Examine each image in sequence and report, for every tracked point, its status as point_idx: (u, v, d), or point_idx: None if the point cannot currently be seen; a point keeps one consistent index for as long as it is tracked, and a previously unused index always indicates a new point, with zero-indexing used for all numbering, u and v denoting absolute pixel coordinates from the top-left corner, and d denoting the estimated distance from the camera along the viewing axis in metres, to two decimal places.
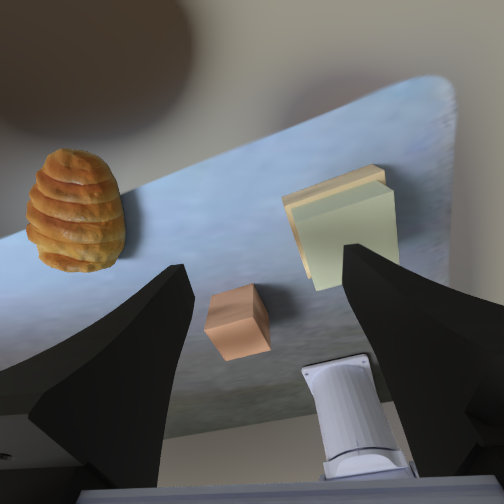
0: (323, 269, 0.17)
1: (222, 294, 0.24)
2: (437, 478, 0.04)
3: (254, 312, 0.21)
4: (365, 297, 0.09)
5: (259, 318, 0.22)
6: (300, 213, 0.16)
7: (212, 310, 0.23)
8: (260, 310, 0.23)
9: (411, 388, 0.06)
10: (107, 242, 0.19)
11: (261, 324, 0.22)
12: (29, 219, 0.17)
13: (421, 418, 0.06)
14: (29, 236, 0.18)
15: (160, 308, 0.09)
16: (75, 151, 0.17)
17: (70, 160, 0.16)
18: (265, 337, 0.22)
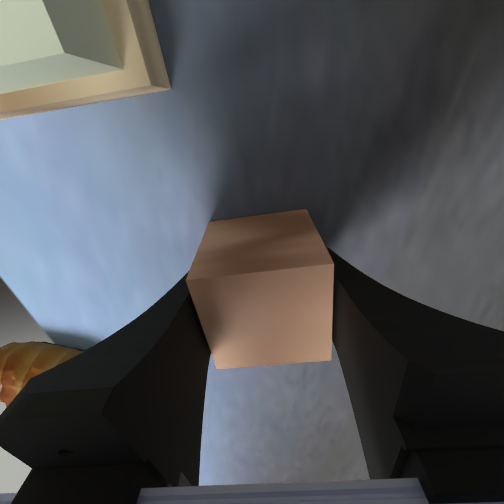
0: None
1: None
2: None
3: (203, 263, 0.08)
4: None
5: (240, 252, 0.08)
6: None
7: None
8: (250, 234, 0.10)
9: (361, 391, 0.07)
10: None
11: (254, 255, 0.08)
12: None
13: (368, 421, 0.06)
14: None
15: None
16: None
17: None
18: (286, 262, 0.08)
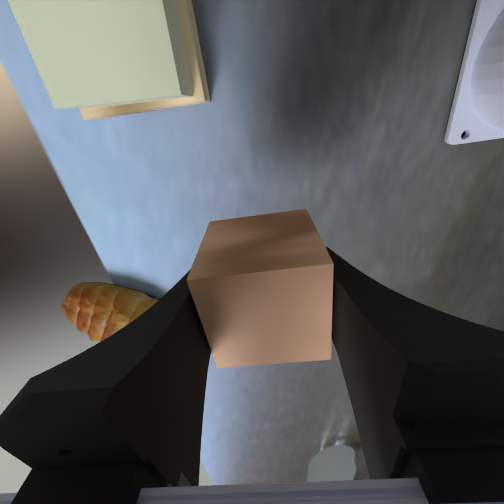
0: (135, 74, 0.11)
1: None
2: None
3: (204, 263, 0.08)
4: None
5: (240, 252, 0.09)
6: None
7: None
8: (251, 234, 0.10)
9: (361, 391, 0.07)
10: (134, 313, 0.21)
11: (254, 255, 0.08)
12: None
13: (368, 421, 0.06)
14: None
15: None
16: (65, 299, 0.22)
17: (65, 306, 0.21)
18: (286, 262, 0.08)
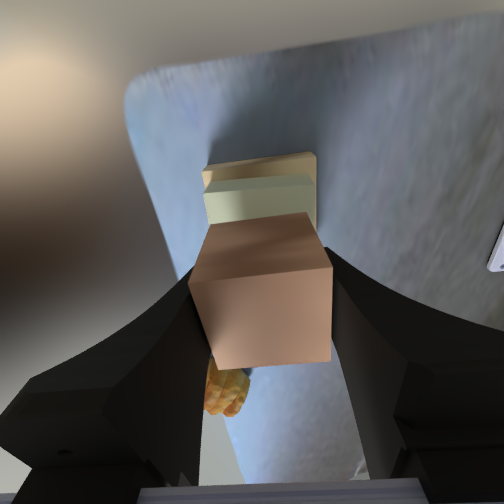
0: None
1: None
2: None
3: (205, 266, 0.08)
4: None
5: (241, 255, 0.09)
6: None
7: None
8: (251, 237, 0.10)
9: (361, 391, 0.07)
10: (225, 383, 0.26)
11: (255, 258, 0.08)
12: None
13: (368, 421, 0.06)
14: None
15: None
16: None
17: None
18: (286, 266, 0.08)
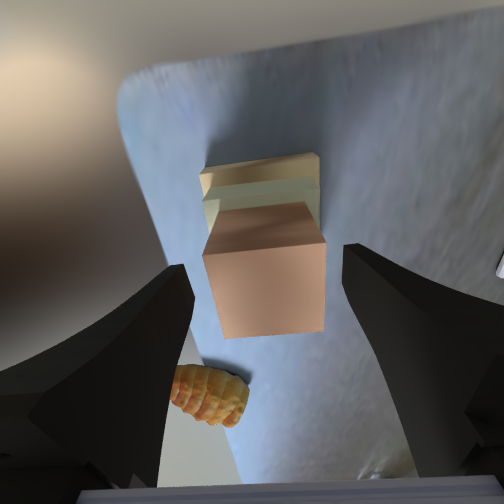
0: None
1: None
2: (437, 478, 0.04)
3: (216, 243, 0.10)
4: (365, 297, 0.09)
5: (247, 235, 0.10)
6: None
7: None
8: (255, 221, 0.11)
9: (411, 388, 0.06)
10: (223, 393, 0.25)
11: (259, 237, 0.10)
12: (197, 420, 0.27)
13: (421, 418, 0.06)
14: (209, 424, 0.27)
15: (160, 308, 0.09)
16: None
17: None
18: (286, 242, 0.09)
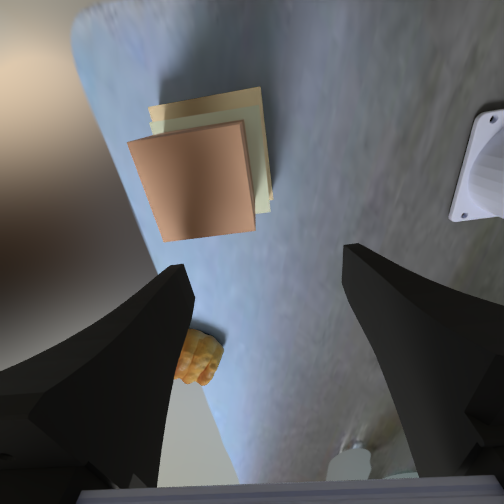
0: None
1: None
2: (437, 478, 0.04)
3: (145, 138, 0.10)
4: (365, 297, 0.09)
5: (176, 132, 0.11)
6: None
7: None
8: (190, 129, 0.12)
9: (411, 388, 0.06)
10: (196, 349, 0.26)
11: (185, 131, 0.10)
12: None
13: (421, 418, 0.06)
14: None
15: (160, 308, 0.09)
16: None
17: None
18: (205, 129, 0.10)
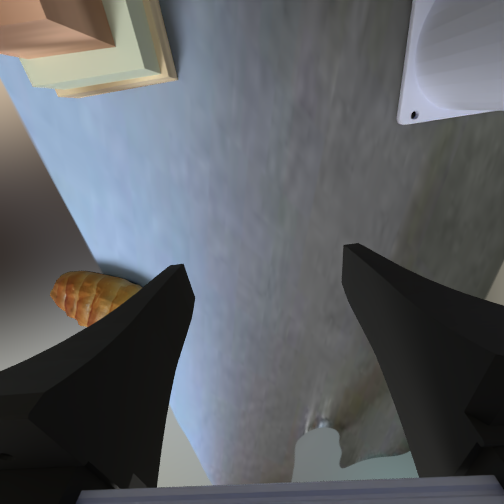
0: (102, 51, 0.12)
1: None
2: (437, 478, 0.04)
3: None
4: (365, 297, 0.09)
5: None
6: None
7: None
8: None
9: (411, 388, 0.06)
10: (116, 297, 0.23)
11: None
12: None
13: (421, 418, 0.06)
14: None
15: (160, 308, 0.09)
16: None
17: (54, 293, 0.23)
18: None
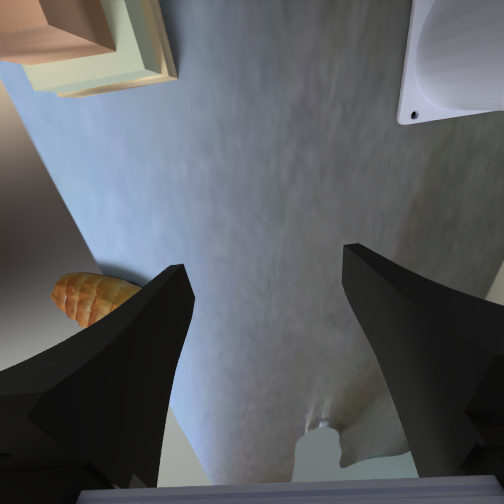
0: None
1: None
2: (437, 478, 0.04)
3: None
4: (365, 297, 0.09)
5: None
6: None
7: None
8: None
9: (411, 388, 0.06)
10: (116, 298, 0.23)
11: None
12: None
13: (421, 418, 0.06)
14: None
15: (160, 308, 0.09)
16: (54, 289, 0.24)
17: (54, 295, 0.23)
18: None
